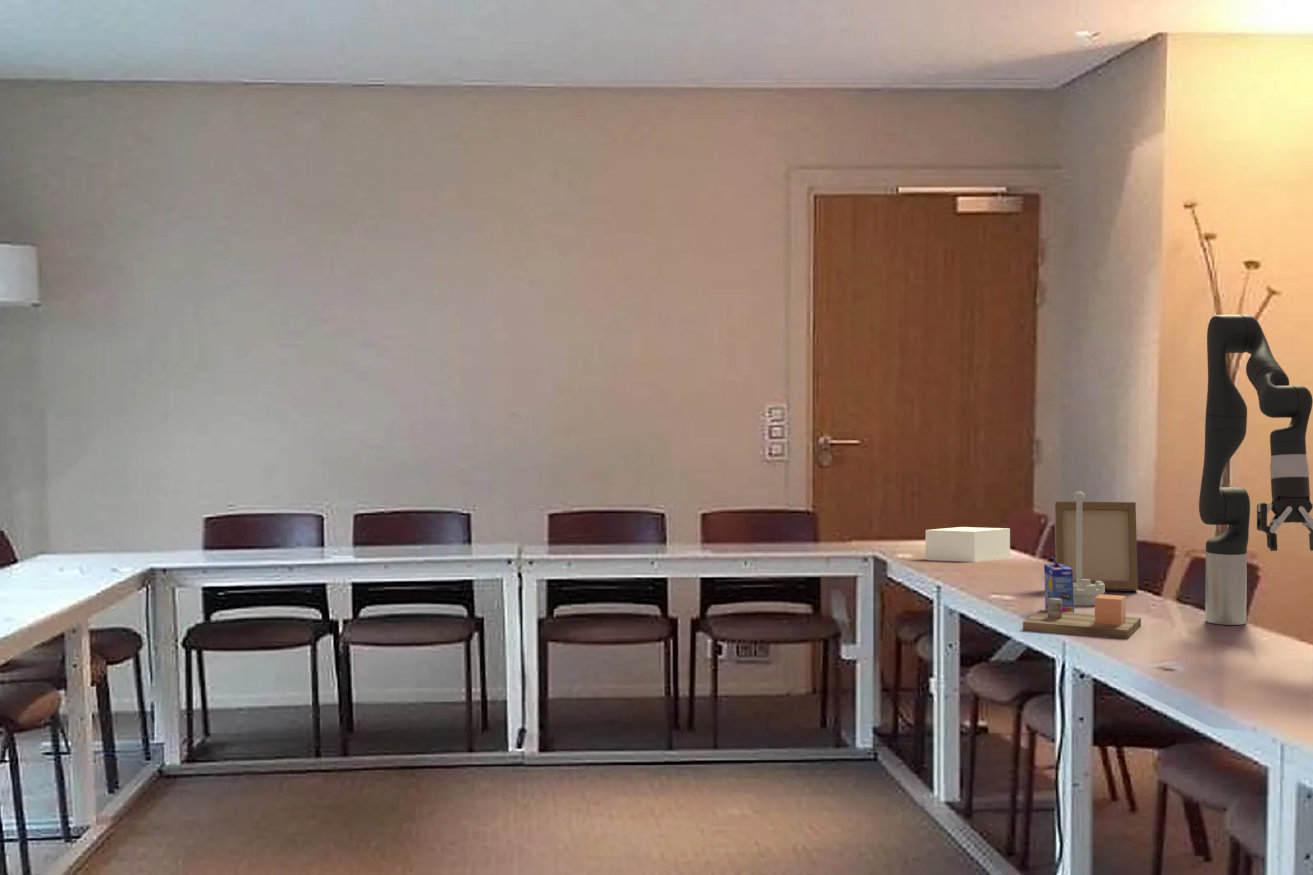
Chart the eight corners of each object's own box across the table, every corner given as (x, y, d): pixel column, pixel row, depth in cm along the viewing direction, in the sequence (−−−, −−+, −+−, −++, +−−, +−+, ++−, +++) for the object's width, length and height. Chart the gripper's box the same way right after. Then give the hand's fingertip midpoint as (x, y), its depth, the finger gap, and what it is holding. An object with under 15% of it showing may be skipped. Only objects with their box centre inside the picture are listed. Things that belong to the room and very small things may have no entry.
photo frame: (1137, 592, 364) (1138, 503, 363) (1056, 590, 369) (1056, 503, 368) (1131, 585, 378) (1131, 500, 377) (1053, 583, 383) (1053, 499, 383)
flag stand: (1107, 606, 343) (1108, 493, 342) (1056, 605, 345) (1056, 493, 344) (1101, 598, 356) (1101, 489, 354) (1051, 597, 358) (1052, 489, 357)
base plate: (1040, 617, 327) (1040, 592, 327) (1140, 625, 315) (1141, 599, 315) (1022, 630, 311) (1022, 603, 311) (1127, 638, 299) (1127, 610, 299)
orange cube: (1099, 618, 314) (1099, 594, 314) (1125, 620, 311) (1125, 596, 311) (1094, 622, 309) (1094, 597, 309) (1121, 625, 306) (1121, 599, 306)
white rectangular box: (919, 557, 444) (919, 527, 443) (1002, 555, 446) (1002, 526, 445) (931, 563, 429) (931, 532, 429) (1017, 561, 431) (1017, 530, 431)
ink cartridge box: (1043, 609, 339) (1043, 554, 338) (1064, 610, 338) (1064, 554, 338) (1052, 616, 329) (1052, 559, 328) (1074, 616, 328) (1075, 559, 328)
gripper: (1315, 477, 287) (1319, 550, 285) (1249, 477, 288) (1253, 551, 286) (1331, 474, 279) (1335, 550, 278) (1263, 475, 280) (1267, 550, 278)
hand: (1293, 550), depth 282 cm, fingers open, 8 cm apart
